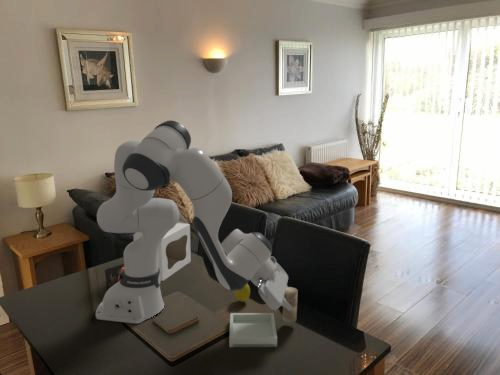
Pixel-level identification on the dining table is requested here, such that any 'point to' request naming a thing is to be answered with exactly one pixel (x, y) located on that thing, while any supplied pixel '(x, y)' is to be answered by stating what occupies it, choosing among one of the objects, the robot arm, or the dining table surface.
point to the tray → (252, 330)
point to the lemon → (243, 293)
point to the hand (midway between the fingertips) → (292, 303)
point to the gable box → (173, 248)
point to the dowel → (292, 298)
